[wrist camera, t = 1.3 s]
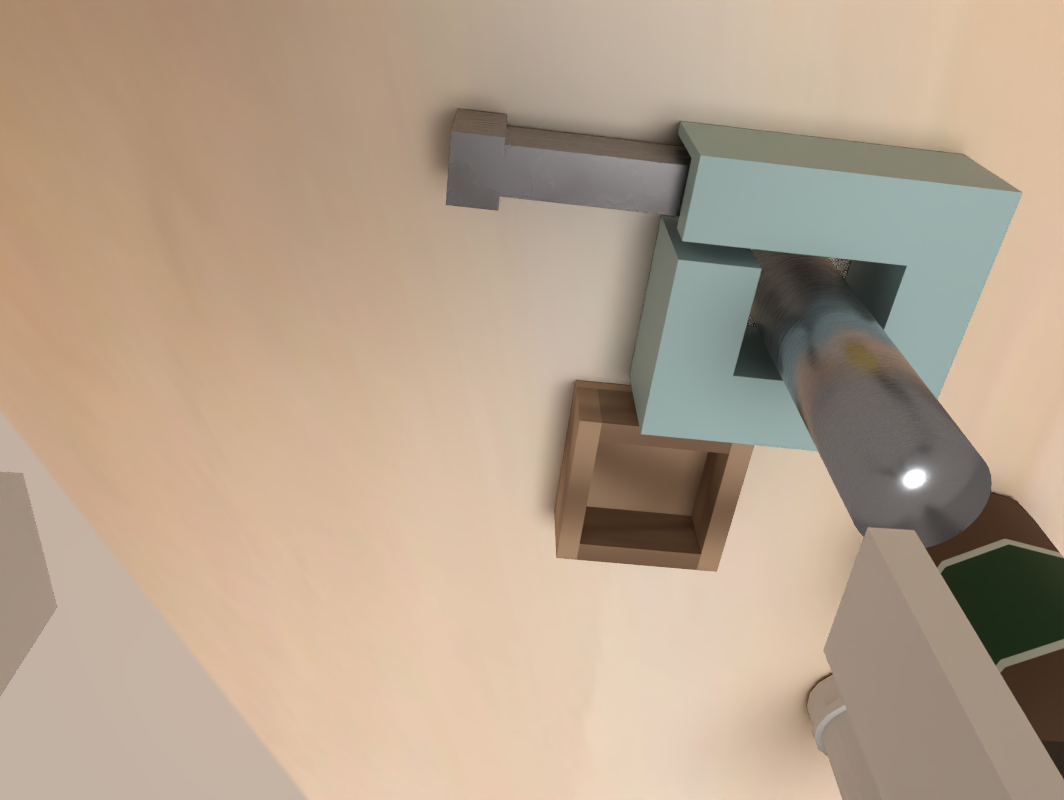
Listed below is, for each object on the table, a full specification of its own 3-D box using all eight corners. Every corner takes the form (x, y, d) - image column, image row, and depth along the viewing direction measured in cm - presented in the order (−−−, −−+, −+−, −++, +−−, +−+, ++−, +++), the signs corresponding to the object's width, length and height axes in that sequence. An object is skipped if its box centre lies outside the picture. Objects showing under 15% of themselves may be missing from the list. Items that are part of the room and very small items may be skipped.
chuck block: (680, 121, 36) (700, 155, 31) (964, 154, 36) (1022, 192, 32) (629, 376, 42) (640, 433, 38) (873, 400, 43) (912, 459, 38)
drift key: (457, 108, 35) (451, 131, 32) (702, 137, 36) (718, 162, 33) (452, 177, 37) (446, 204, 34) (688, 203, 37) (702, 233, 34)
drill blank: (750, 230, 38) (875, 434, 24) (840, 240, 38) (1013, 447, 25) (729, 313, 40) (833, 543, 26) (814, 322, 40) (961, 555, 27)
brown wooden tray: (575, 380, 42) (579, 420, 39) (739, 396, 42) (756, 437, 39) (554, 511, 46) (556, 557, 43) (704, 524, 47) (716, 571, 43)
